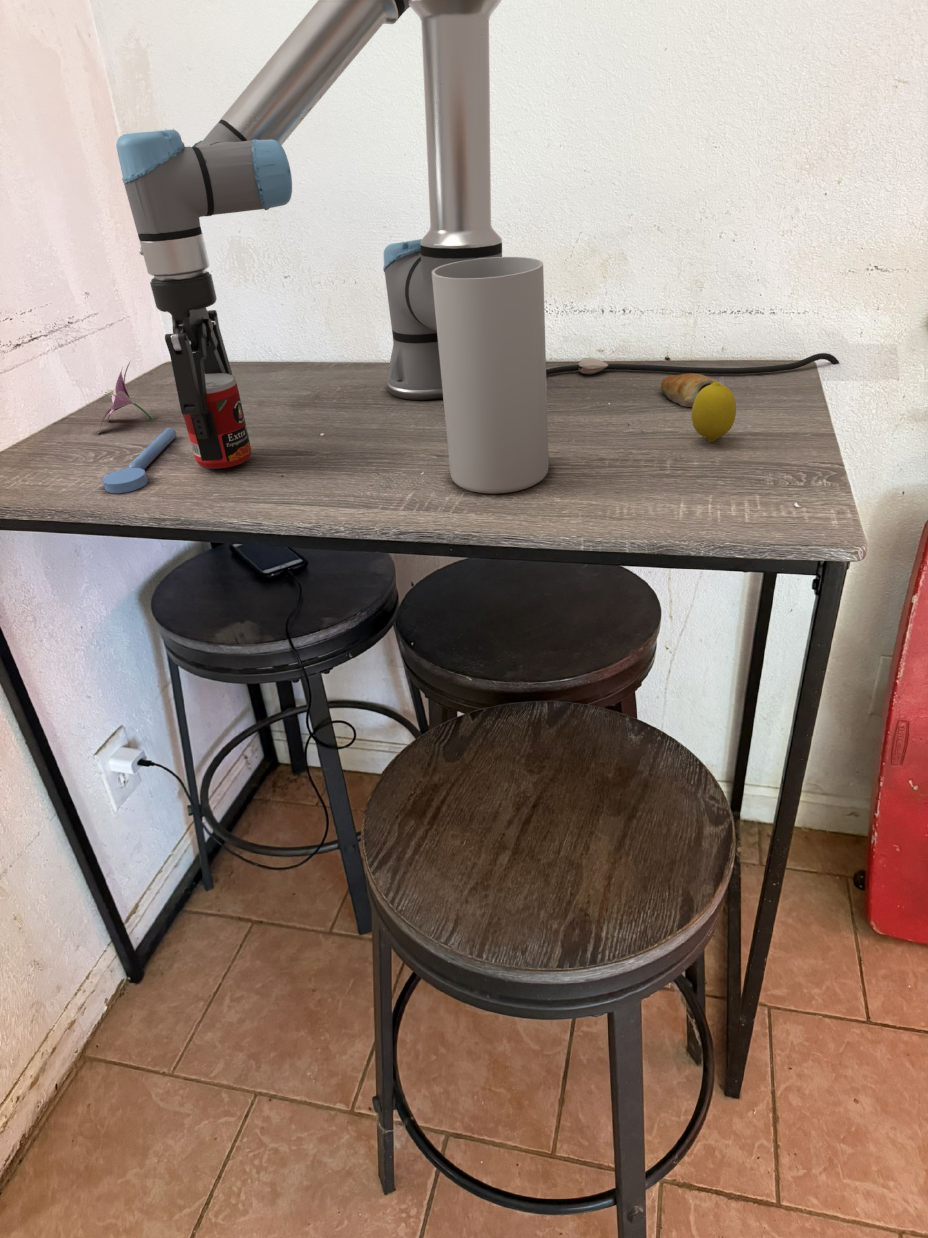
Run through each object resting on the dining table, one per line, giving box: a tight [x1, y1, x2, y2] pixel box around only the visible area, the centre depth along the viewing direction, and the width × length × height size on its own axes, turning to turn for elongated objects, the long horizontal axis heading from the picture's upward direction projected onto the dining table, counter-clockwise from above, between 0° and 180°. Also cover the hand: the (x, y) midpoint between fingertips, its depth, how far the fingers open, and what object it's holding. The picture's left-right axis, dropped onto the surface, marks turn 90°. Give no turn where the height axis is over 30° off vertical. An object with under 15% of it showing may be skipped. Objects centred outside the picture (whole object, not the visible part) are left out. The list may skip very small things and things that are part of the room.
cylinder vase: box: [432, 256, 550, 495], centre depth 101 cm, size 12×12×25 cm
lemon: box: [691, 381, 737, 443], centre depth 110 cm, size 6×6×8 cm
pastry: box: [659, 373, 718, 408], centre depth 127 cm, size 9×7×4 cm
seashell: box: [578, 357, 609, 376], centre depth 141 cm, size 4×5×2 cm
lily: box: [98, 360, 154, 432], centre depth 136 cm, size 12×12×10 cm
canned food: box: [182, 373, 252, 470], centre depth 115 cm, size 8×8×11 cm
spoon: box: [102, 427, 177, 494], centre depth 121 cm, size 21×6×2 cm, turn 177°
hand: (221, 447), depth 117 cm, fingers closed on canned food, 8 cm apart
